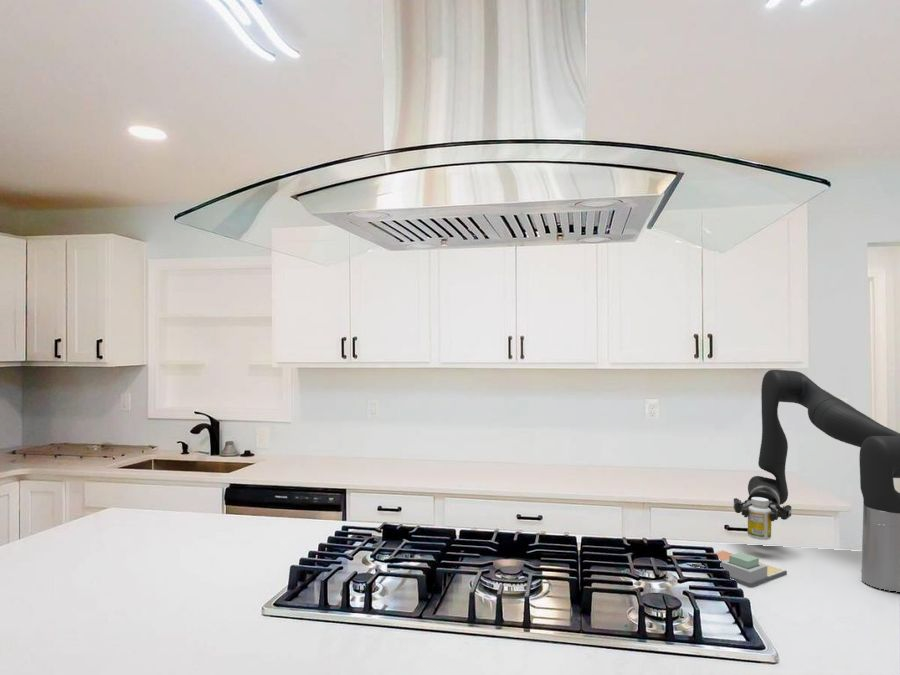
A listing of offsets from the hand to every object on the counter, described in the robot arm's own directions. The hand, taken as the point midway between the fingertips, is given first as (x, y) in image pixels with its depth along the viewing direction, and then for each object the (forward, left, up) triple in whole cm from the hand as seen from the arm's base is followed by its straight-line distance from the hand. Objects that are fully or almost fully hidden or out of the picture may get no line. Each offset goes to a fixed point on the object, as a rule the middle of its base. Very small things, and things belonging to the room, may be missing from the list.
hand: (759, 515), depth 153 cm
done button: (-6, +16, -8) cm, 19 cm away
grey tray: (-2, +12, -11) cm, 16 cm away
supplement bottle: (+1, -2, -6) cm, 7 cm away
